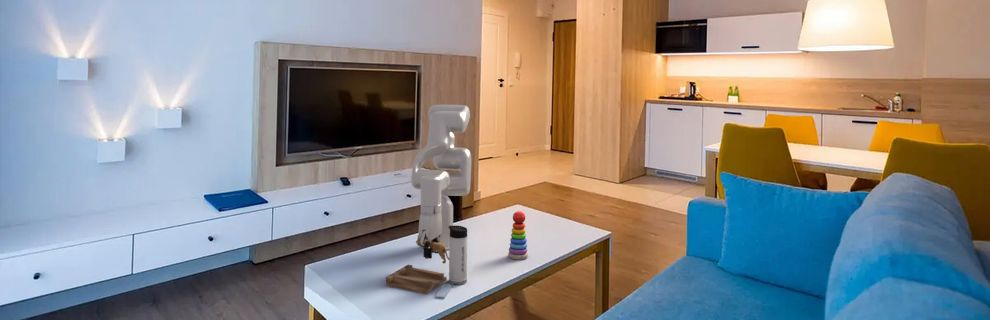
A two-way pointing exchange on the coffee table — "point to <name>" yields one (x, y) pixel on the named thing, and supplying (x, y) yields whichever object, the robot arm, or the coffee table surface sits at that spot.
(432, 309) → the coffee table surface
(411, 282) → the cradle jig
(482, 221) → the coffee table surface
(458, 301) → the coffee table surface
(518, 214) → the stacking toy
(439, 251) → the lion figurine
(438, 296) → the plank
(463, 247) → the travel mug
